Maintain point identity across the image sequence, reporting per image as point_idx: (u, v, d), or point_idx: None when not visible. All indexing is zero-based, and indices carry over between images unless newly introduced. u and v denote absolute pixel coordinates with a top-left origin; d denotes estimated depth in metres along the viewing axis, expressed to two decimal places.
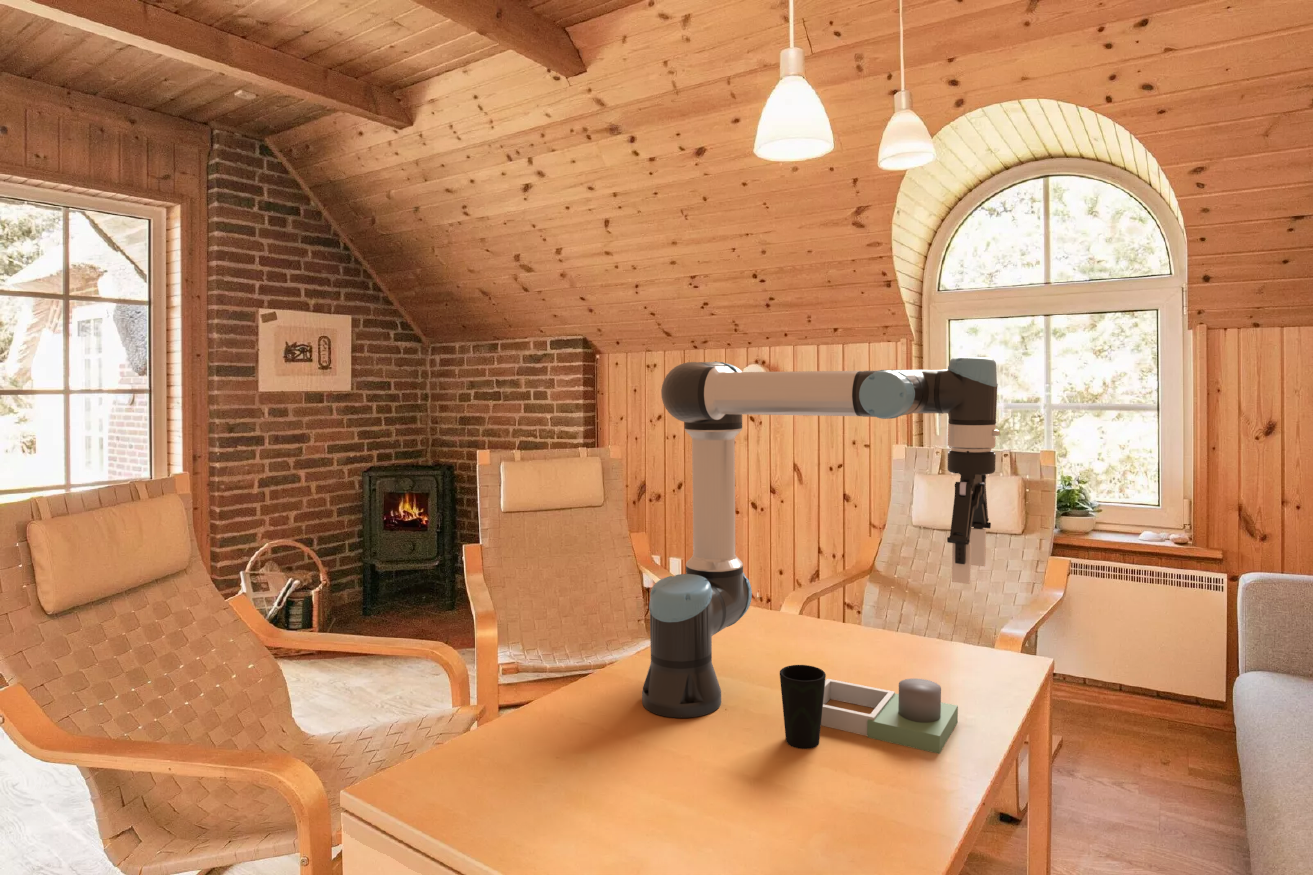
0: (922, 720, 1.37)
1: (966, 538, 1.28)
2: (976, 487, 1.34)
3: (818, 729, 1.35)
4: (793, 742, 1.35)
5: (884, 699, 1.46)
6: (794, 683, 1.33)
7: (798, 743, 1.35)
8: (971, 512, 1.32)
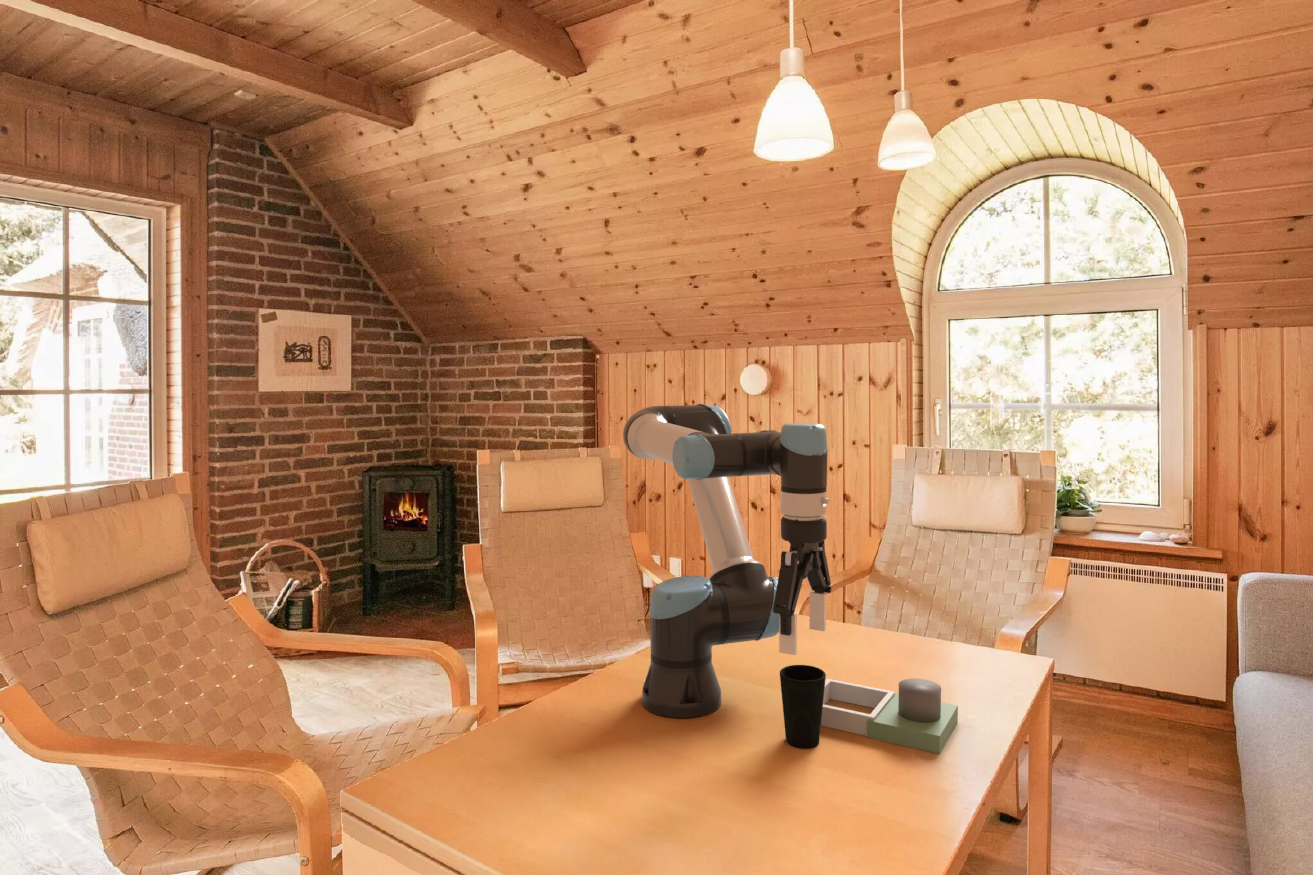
0: (922, 720, 1.37)
1: (788, 610, 1.27)
2: (806, 555, 1.33)
3: (818, 729, 1.35)
4: (793, 742, 1.35)
5: (884, 699, 1.46)
6: (794, 683, 1.33)
7: (798, 743, 1.35)
8: (798, 582, 1.30)
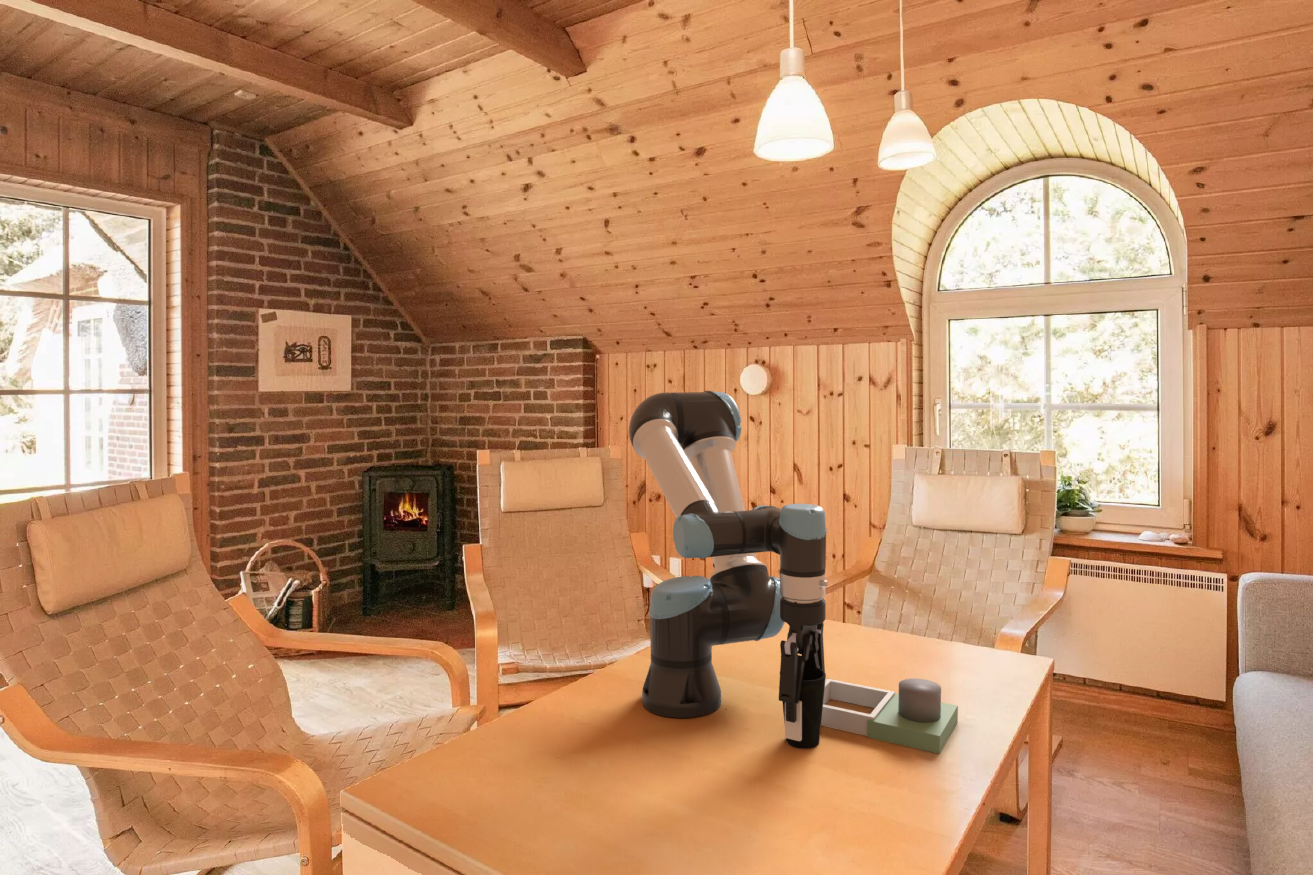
0: (922, 720, 1.37)
1: (793, 700, 1.30)
2: (805, 638, 1.34)
3: (818, 729, 1.35)
4: (793, 742, 1.35)
5: (884, 699, 1.46)
6: None
7: (798, 743, 1.35)
8: (800, 668, 1.33)
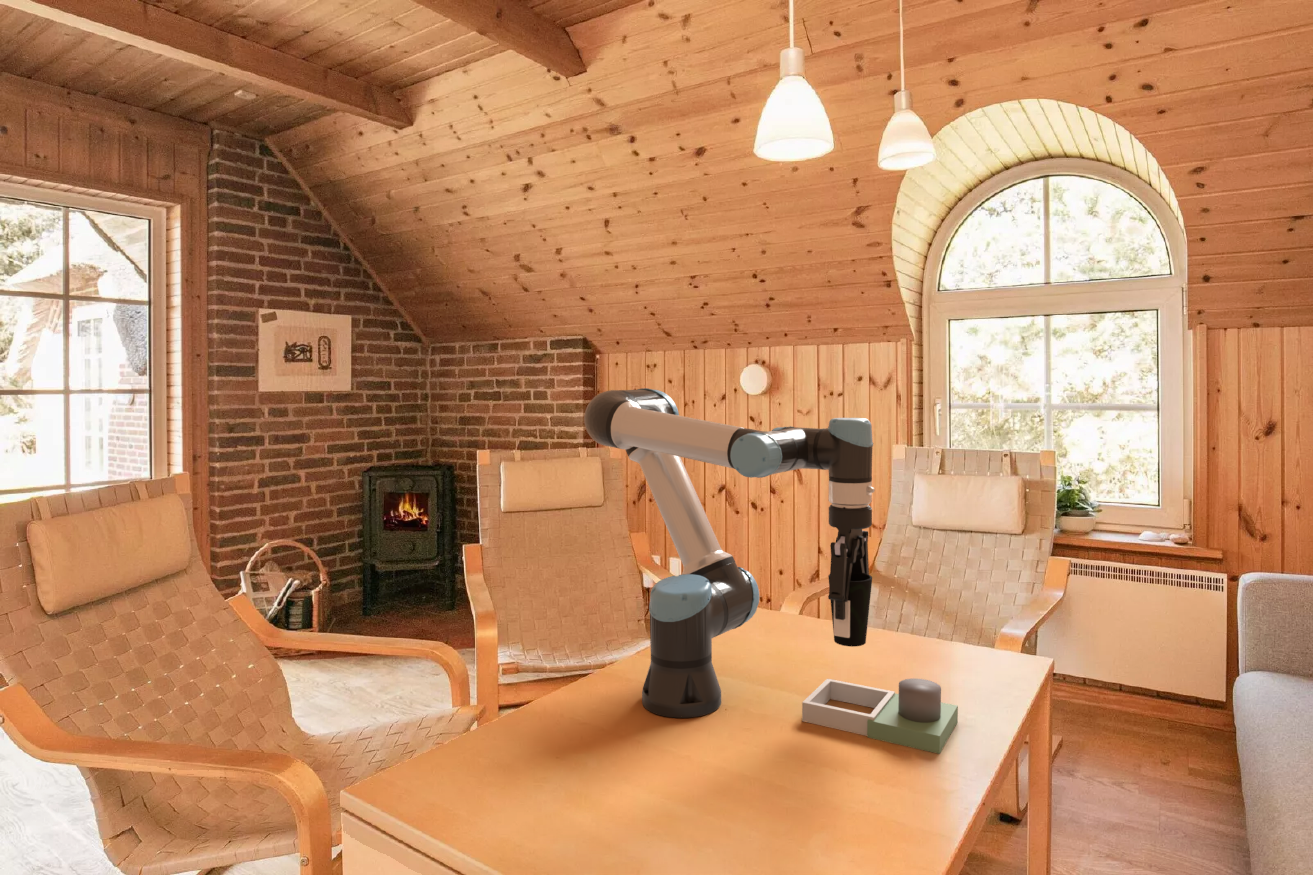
0: (922, 720, 1.37)
1: (843, 597, 1.39)
2: (853, 542, 1.42)
3: (865, 628, 1.44)
4: (842, 640, 1.44)
5: (884, 699, 1.46)
6: None
7: (846, 641, 1.44)
8: (848, 569, 1.41)
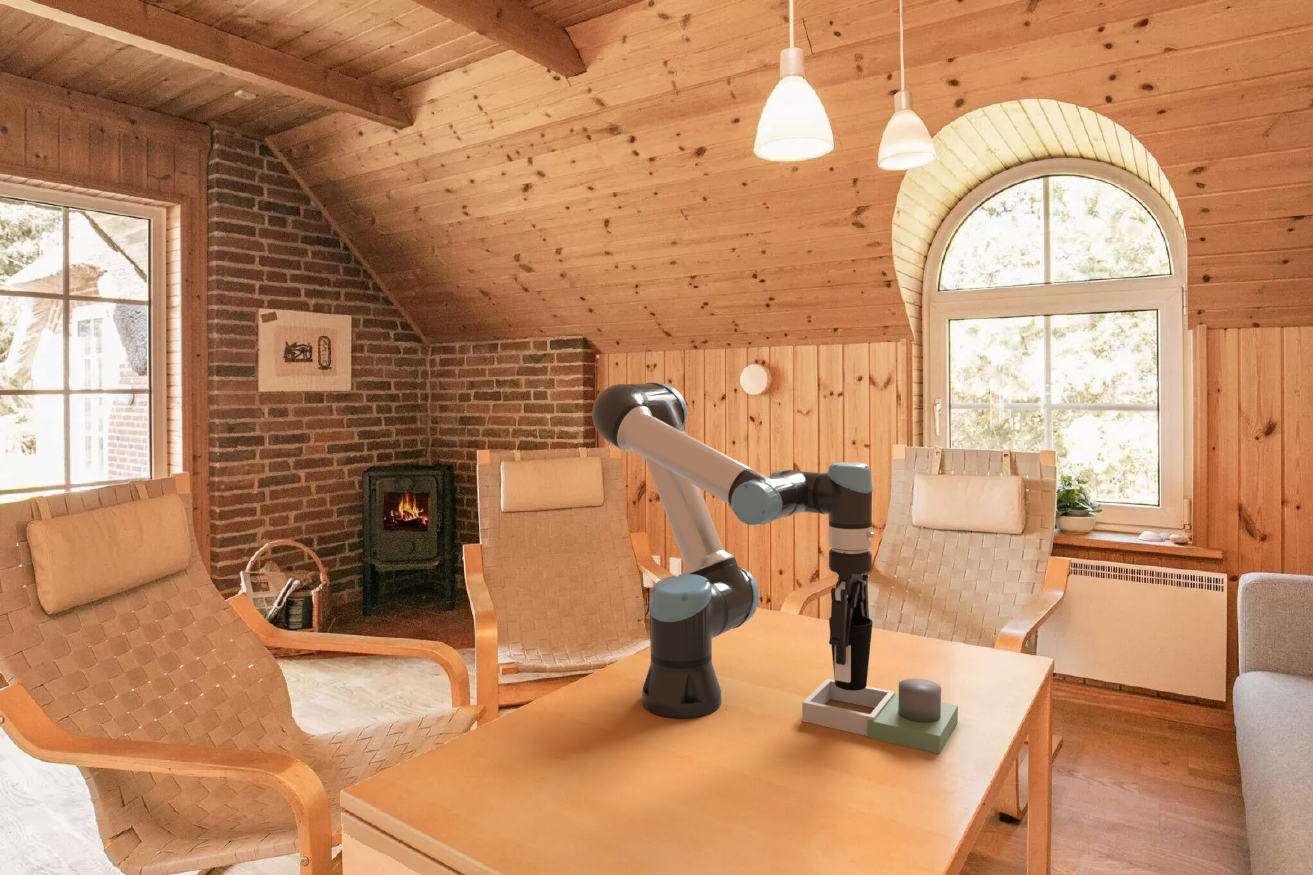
0: (922, 720, 1.37)
1: (844, 643, 1.39)
2: (853, 587, 1.43)
3: (866, 672, 1.45)
4: (842, 684, 1.45)
5: (884, 699, 1.46)
6: None
7: (847, 685, 1.44)
8: (849, 614, 1.42)
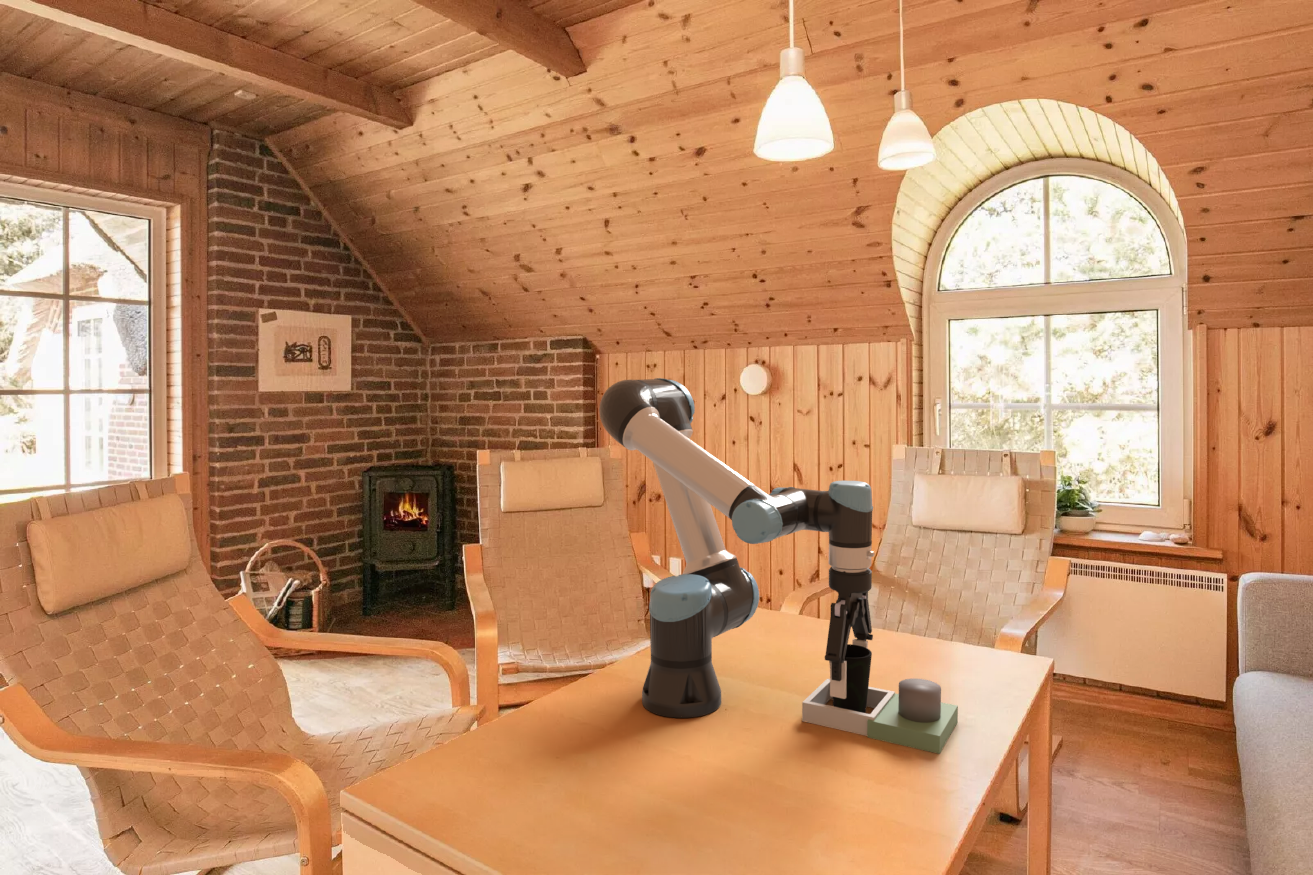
0: (922, 720, 1.37)
1: (839, 659, 1.38)
2: (853, 604, 1.44)
3: (865, 703, 1.46)
4: None
5: (884, 699, 1.46)
6: None
7: None
8: (847, 630, 1.42)
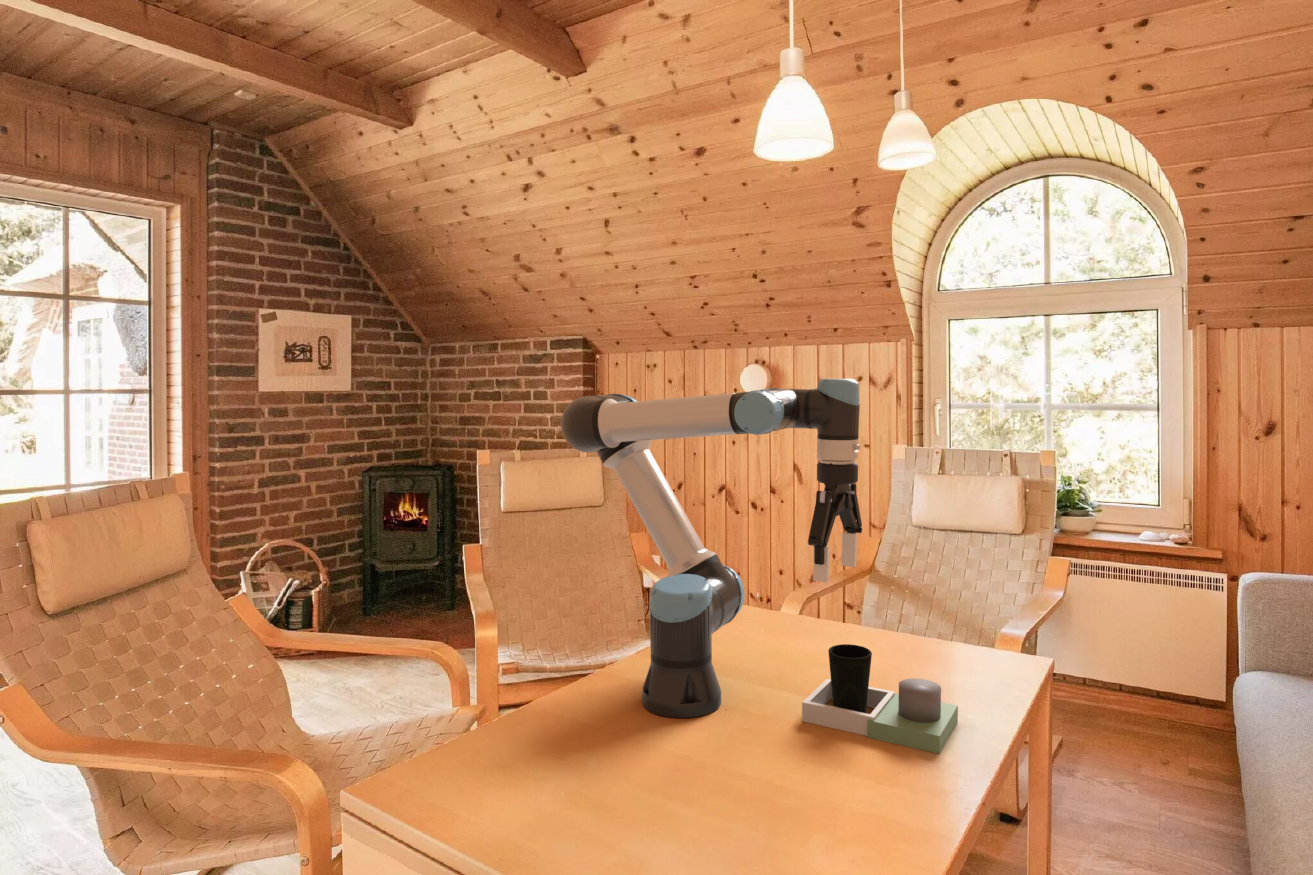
0: (922, 720, 1.37)
1: (821, 541, 1.43)
2: (839, 496, 1.49)
3: (865, 703, 1.46)
4: None
5: (884, 699, 1.46)
6: (843, 660, 1.44)
7: None
8: (831, 518, 1.47)
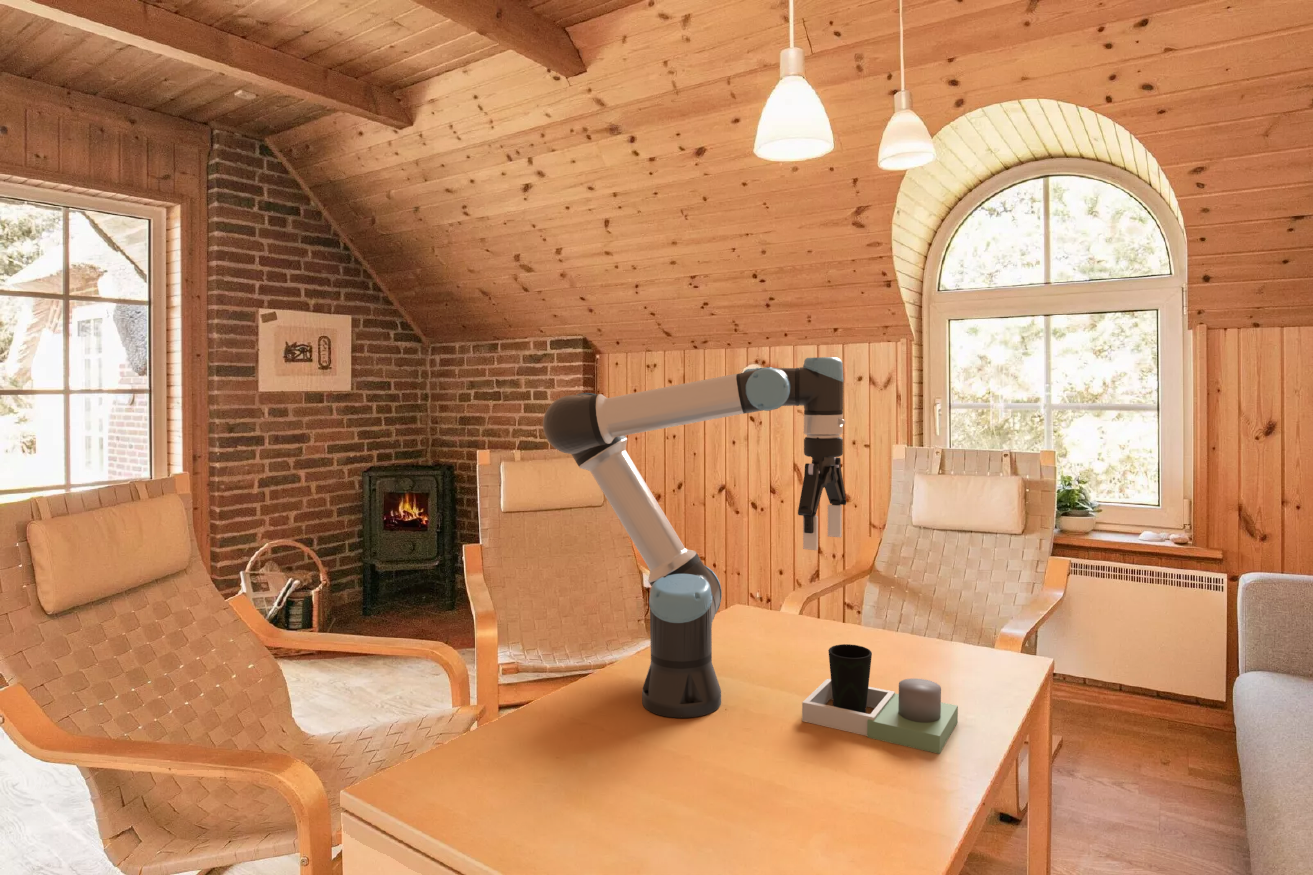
0: (922, 720, 1.37)
1: (811, 511, 1.51)
2: (825, 468, 1.57)
3: (865, 703, 1.46)
4: None
5: (884, 699, 1.46)
6: (843, 660, 1.43)
7: None
8: (819, 489, 1.55)
